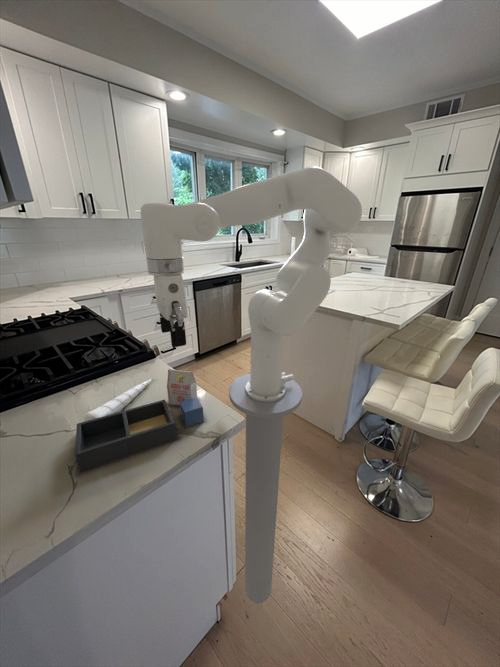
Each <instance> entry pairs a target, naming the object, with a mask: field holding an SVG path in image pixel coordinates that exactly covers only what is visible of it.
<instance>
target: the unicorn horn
mask: <svg viewBox="0 0 500 667" xmlns="http://www.w3.org/2000/svg"><path fill="white" fill-rule="evenodd" d="M152 380H153V379H152V378H150V379H149V378H148V379H147V380H145V381H143V382H141V383H139V384H136V385H135V386H133V387H132V388H129V389H128V390H126V391H124V392H123V393H121V394H118V395H117V396H115V397H114V398H112V399H110V400H108V401H106V402H105V403H103V404H101V405H100V406H99V407H96V408H94V409H93V410H91V411H89V412H88V413H86V414H85V416H84V420H83V422H85V421H88V420H92V419H96V418H99V417H103V416H107V415H110V414H114V413H117V412H121V411H123V410H124V409H125V407H126V406H128V405H129V404H130V403H131V402H132V401H133V400H134V399H135V398H136V397H137V396H138V395H139V394H141V393H142V391H144V389H145V388H146V387H147V386H148V385H149V384H150V383H151V382H152Z"/></svg>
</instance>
